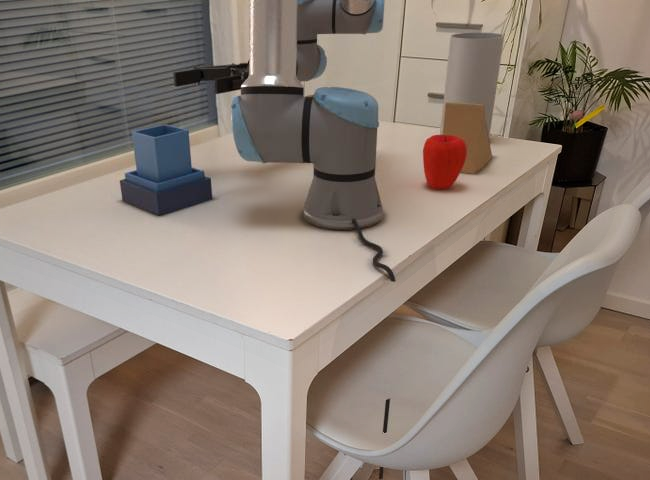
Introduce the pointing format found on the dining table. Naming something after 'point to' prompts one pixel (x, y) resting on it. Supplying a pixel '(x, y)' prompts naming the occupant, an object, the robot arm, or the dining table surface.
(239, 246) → the dining table surface
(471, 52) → the cylinder vase
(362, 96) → the robot arm
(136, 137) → the lone bin
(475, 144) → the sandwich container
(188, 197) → the bin stack
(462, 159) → the apple
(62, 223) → the dining table surface
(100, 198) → the dining table surface
